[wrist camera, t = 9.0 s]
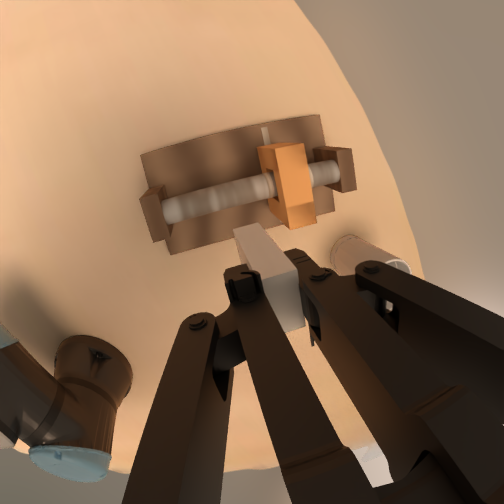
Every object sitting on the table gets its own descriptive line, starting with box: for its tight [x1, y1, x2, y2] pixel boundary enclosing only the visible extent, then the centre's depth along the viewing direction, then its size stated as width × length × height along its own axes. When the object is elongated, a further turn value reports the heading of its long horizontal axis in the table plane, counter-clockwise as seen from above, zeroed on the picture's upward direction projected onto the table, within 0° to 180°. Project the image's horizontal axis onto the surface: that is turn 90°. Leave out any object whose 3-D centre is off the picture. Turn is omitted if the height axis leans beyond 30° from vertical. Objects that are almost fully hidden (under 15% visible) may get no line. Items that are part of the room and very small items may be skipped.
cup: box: [330, 235, 412, 310], centre depth 40 cm, size 8×8×12 cm
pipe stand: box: [139, 115, 357, 255], centre depth 34 cm, size 24×14×8 cm, turn 102°
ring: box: [257, 143, 317, 230], centre depth 32 cm, size 3×8×8 cm, turn 12°
